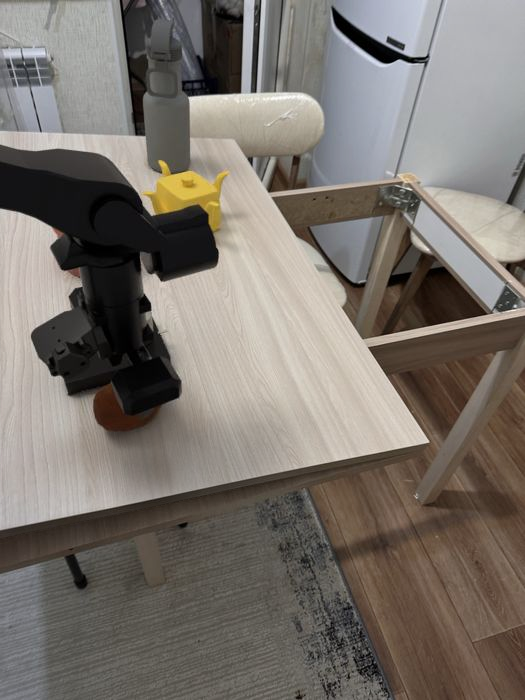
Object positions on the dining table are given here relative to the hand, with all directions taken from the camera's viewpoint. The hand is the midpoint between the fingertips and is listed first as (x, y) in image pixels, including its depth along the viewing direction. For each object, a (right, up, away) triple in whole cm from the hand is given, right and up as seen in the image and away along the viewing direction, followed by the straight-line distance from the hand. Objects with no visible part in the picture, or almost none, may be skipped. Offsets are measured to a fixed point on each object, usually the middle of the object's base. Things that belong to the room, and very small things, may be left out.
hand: (129, 389), depth 59 cm
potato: (-1, -4, +4) cm, 5 cm away
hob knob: (-1, +7, +10) cm, 12 cm away
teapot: (+1, +30, +37) cm, 48 cm away
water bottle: (-6, +48, +54) cm, 72 cm away
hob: (-5, +4, +10) cm, 12 cm away
